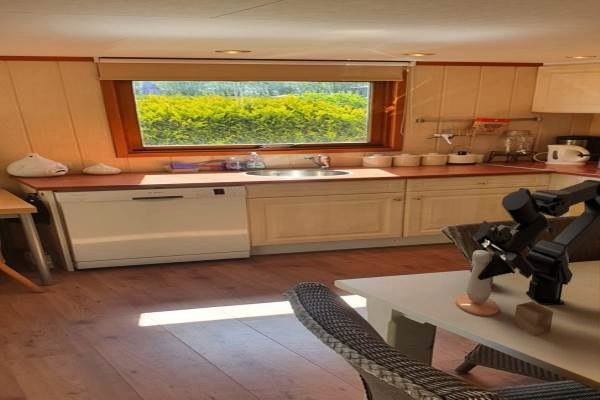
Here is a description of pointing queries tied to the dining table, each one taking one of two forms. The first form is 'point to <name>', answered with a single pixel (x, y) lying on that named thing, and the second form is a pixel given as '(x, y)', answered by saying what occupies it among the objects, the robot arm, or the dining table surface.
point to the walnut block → (533, 318)
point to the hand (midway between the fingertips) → (474, 275)
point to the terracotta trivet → (477, 306)
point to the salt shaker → (475, 287)
